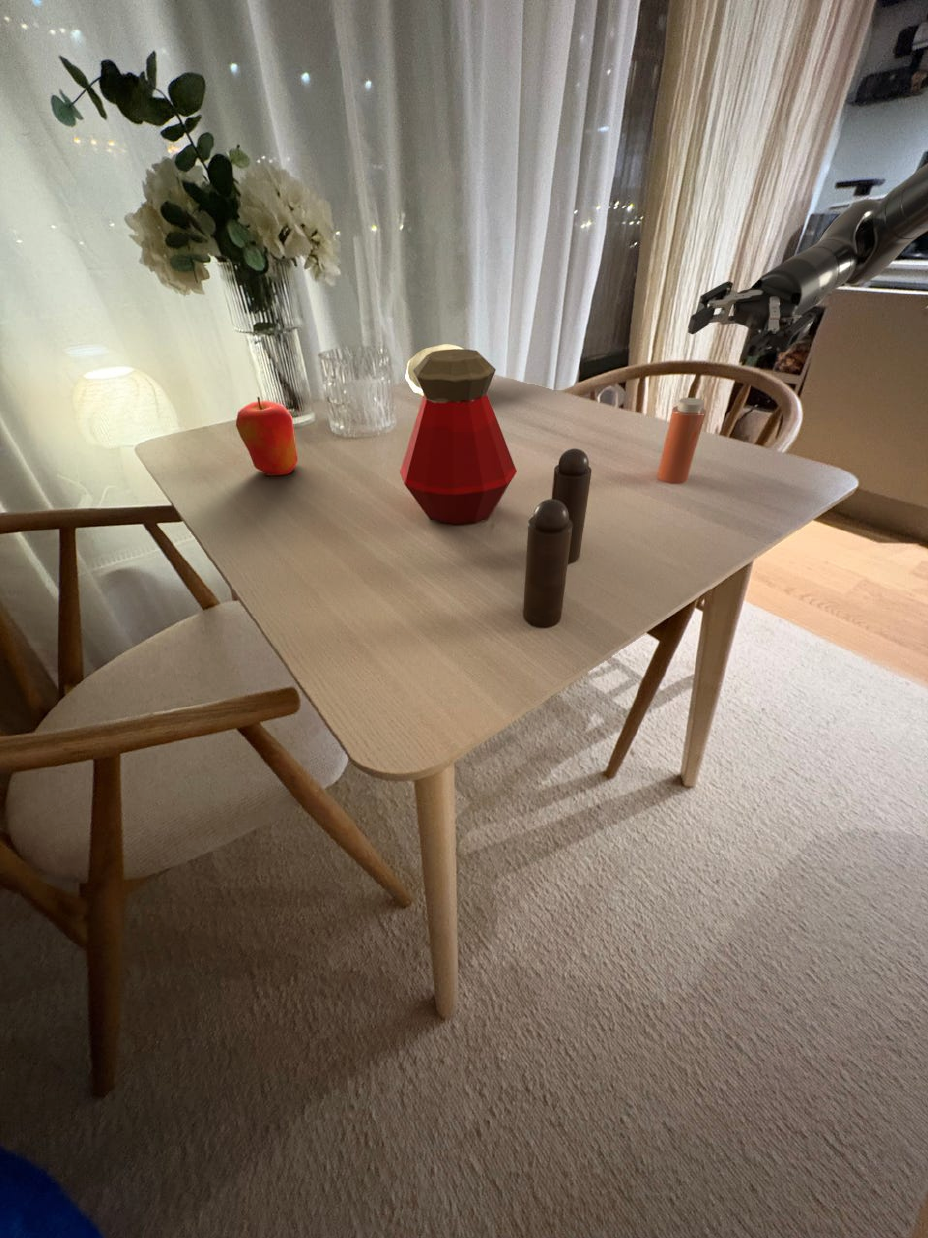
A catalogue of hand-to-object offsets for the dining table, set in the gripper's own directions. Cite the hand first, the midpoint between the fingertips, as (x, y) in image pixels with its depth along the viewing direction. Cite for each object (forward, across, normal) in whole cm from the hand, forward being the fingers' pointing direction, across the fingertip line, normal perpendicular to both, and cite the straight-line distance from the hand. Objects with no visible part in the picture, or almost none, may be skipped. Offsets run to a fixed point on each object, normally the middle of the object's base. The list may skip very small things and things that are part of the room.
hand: (717, 338), depth 66 cm
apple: (+54, -40, +14) cm, 68 cm away
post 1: (+45, +14, +4) cm, 47 cm away
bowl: (+15, -49, +26) cm, 57 cm away
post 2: (+35, +8, +8) cm, 37 cm away
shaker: (+8, +4, +16) cm, 19 cm away
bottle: (+39, -9, +11) cm, 41 cm away
